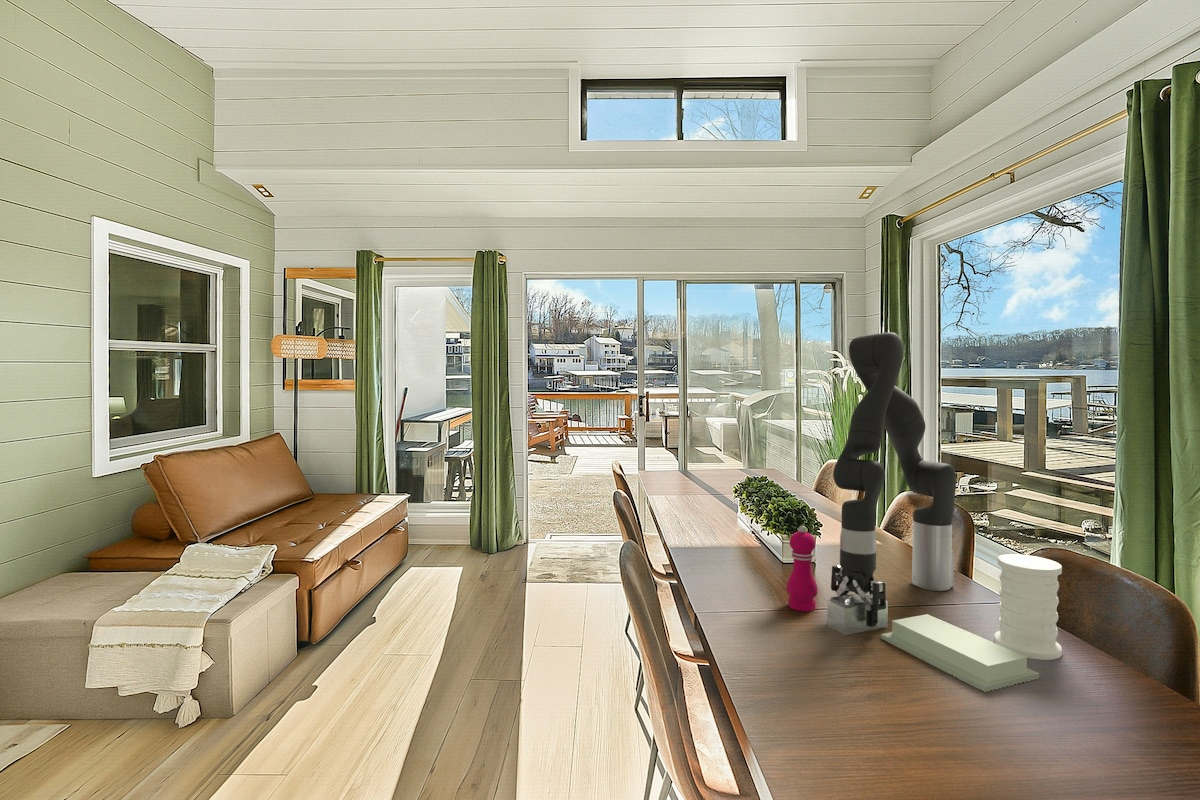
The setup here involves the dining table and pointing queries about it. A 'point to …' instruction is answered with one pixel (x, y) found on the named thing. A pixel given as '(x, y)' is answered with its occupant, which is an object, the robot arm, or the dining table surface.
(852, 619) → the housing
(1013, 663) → the stand
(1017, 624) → the decorative container
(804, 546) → the pepper mill
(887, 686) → the dining table surface
